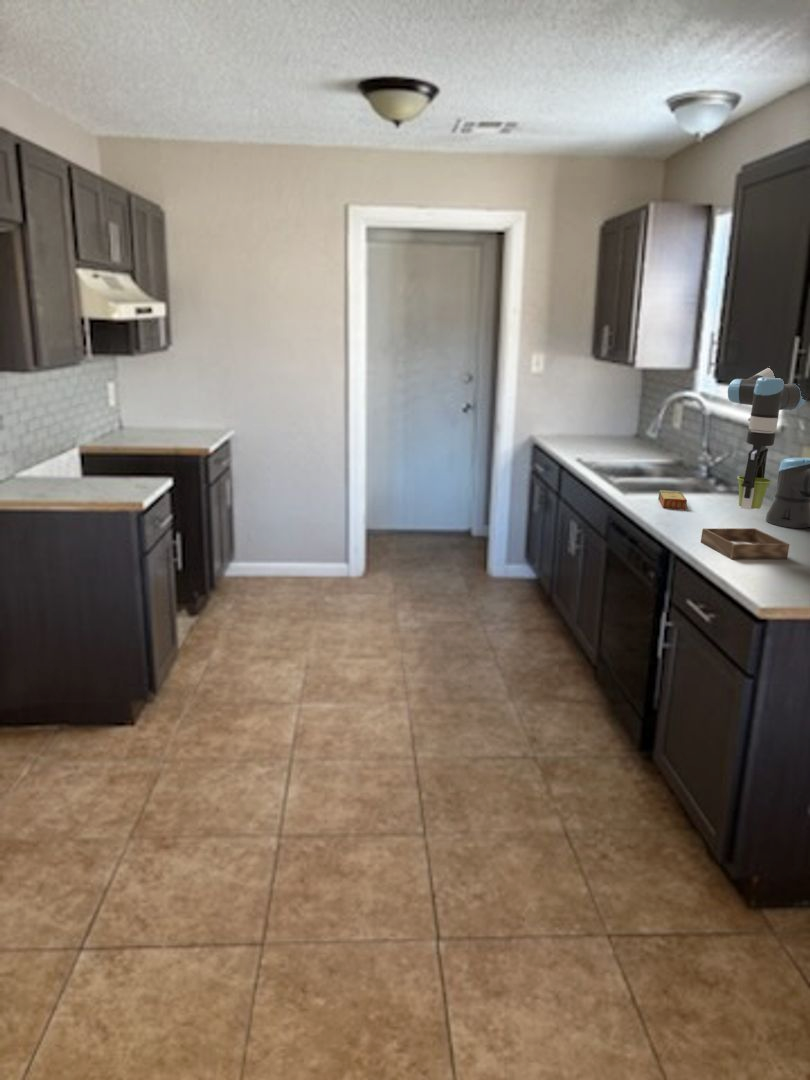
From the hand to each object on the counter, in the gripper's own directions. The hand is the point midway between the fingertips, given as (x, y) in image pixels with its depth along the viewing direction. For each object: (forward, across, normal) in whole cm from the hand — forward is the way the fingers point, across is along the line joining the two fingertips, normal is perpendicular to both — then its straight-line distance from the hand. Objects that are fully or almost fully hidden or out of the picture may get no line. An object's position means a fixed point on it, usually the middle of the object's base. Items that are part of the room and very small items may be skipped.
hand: (749, 506), depth 249 cm
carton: (+14, -47, -37) cm, 62 cm away
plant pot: (0, 0, 0) cm, 0 cm away
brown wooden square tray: (+14, 0, 0) cm, 14 cm away
